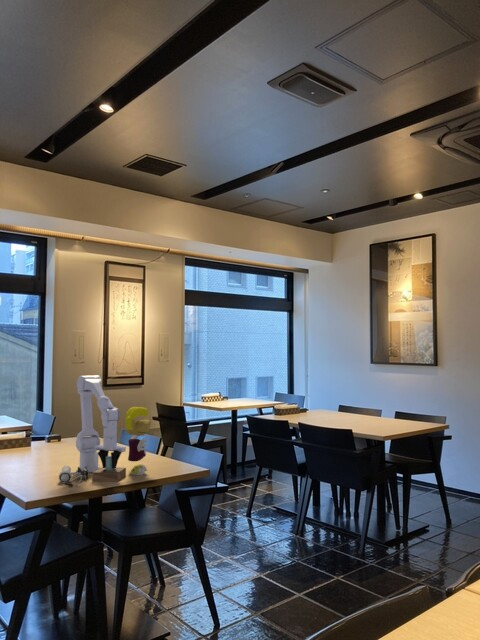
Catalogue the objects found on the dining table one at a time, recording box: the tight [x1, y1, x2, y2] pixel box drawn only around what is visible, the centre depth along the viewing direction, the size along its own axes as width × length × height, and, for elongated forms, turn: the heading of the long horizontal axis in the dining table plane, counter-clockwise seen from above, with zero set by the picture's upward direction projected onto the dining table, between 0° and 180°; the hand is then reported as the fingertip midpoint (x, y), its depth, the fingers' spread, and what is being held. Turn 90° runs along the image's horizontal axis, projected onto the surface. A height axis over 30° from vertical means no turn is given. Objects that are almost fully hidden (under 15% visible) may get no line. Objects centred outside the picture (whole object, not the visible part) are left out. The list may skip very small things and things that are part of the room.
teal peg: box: [106, 454, 114, 471], centre depth 221 cm, size 4×4×9 cm
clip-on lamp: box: [58, 465, 89, 487], centre depth 213 cm, size 12×6×18 cm
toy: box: [124, 406, 152, 476], centre depth 234 cm, size 22×12×30 cm, turn 9°
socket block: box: [91, 466, 127, 482], centre depth 220 cm, size 11×11×4 cm
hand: (109, 467), depth 220 cm, fingers open, 4 cm apart
